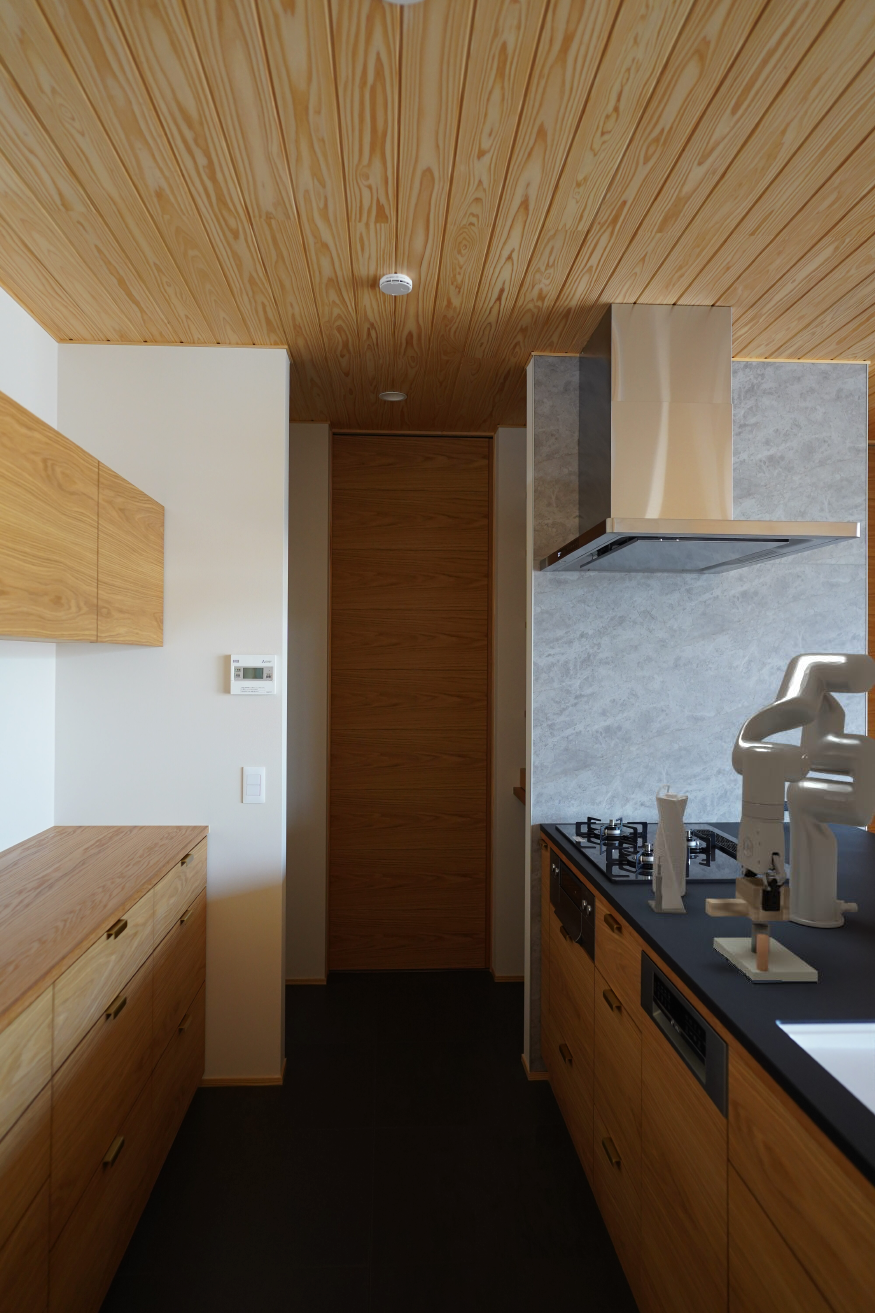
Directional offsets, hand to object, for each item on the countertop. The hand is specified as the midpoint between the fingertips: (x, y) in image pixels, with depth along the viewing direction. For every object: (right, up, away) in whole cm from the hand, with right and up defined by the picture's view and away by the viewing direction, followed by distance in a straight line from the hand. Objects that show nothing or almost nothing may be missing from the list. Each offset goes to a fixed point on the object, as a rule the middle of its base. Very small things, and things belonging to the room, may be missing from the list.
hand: (760, 903), depth 141 cm
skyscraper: (-8, -11, +31) cm, 34 cm away
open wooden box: (-3, -2, 0) cm, 4 cm away
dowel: (-3, -9, -8) cm, 12 cm away
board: (0, -11, -1) cm, 11 cm away
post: (0, -9, 0) cm, 9 cm away
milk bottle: (-5, -11, +41) cm, 43 cm away
